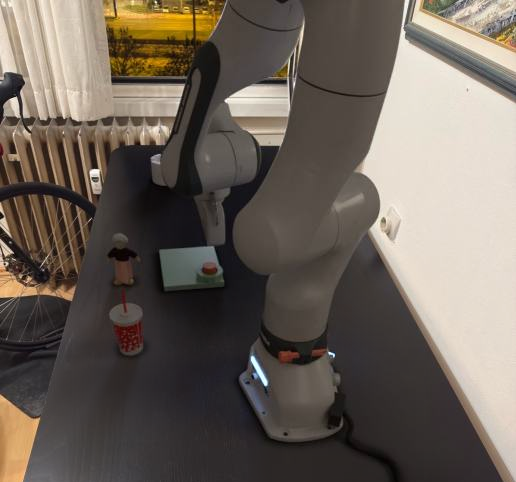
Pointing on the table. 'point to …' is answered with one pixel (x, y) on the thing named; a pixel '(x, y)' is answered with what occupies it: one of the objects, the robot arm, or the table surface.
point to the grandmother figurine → (122, 260)
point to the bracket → (157, 170)
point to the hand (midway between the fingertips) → (210, 242)
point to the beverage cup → (128, 327)
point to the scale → (189, 268)
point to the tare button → (209, 268)
